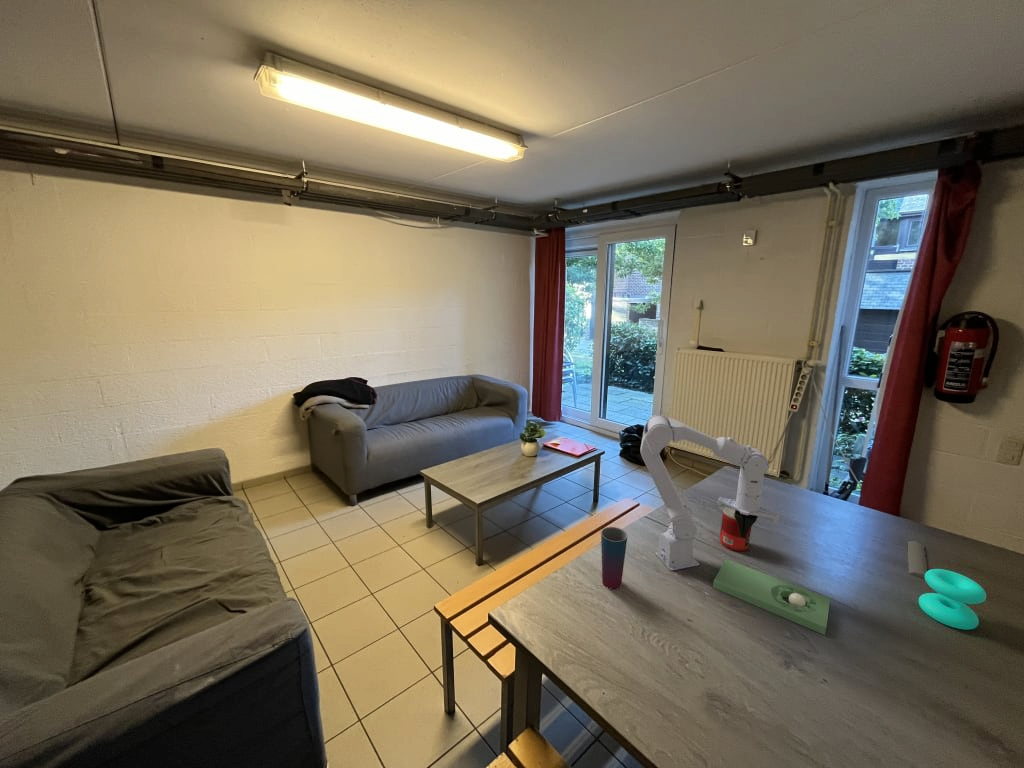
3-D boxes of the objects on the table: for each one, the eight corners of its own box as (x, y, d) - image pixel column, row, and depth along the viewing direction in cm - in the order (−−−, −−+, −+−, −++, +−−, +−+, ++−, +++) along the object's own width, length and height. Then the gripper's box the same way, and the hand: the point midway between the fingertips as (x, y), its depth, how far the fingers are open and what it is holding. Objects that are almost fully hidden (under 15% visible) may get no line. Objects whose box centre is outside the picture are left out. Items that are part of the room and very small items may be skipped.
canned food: (751, 553, 122) (756, 520, 120) (722, 549, 124) (726, 516, 122) (744, 539, 129) (748, 508, 127) (716, 535, 131) (721, 504, 129)
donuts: (943, 563, 102) (998, 590, 92) (934, 597, 104) (988, 627, 95) (915, 570, 99) (969, 599, 90) (907, 605, 101) (959, 637, 92)
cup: (595, 586, 109) (597, 537, 106) (602, 571, 115) (604, 524, 111) (621, 595, 106) (624, 544, 102) (627, 579, 112) (630, 530, 108)
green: (712, 587, 108) (713, 580, 108) (724, 564, 117) (725, 558, 117) (825, 635, 93) (826, 627, 92) (828, 605, 102) (830, 598, 101)
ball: (804, 610, 98) (789, 600, 100) (799, 613, 101) (784, 603, 102) (810, 598, 99) (795, 588, 101) (804, 601, 102) (789, 591, 104)
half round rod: (924, 549, 124) (926, 544, 124) (929, 582, 110) (930, 576, 110) (905, 544, 127) (906, 538, 127) (907, 575, 113) (908, 569, 113)
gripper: (716, 489, 112) (711, 532, 115) (778, 506, 103) (771, 553, 106) (723, 480, 117) (718, 522, 120) (782, 495, 108) (775, 541, 111)
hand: (743, 536), depth 113 cm, fingers closed
